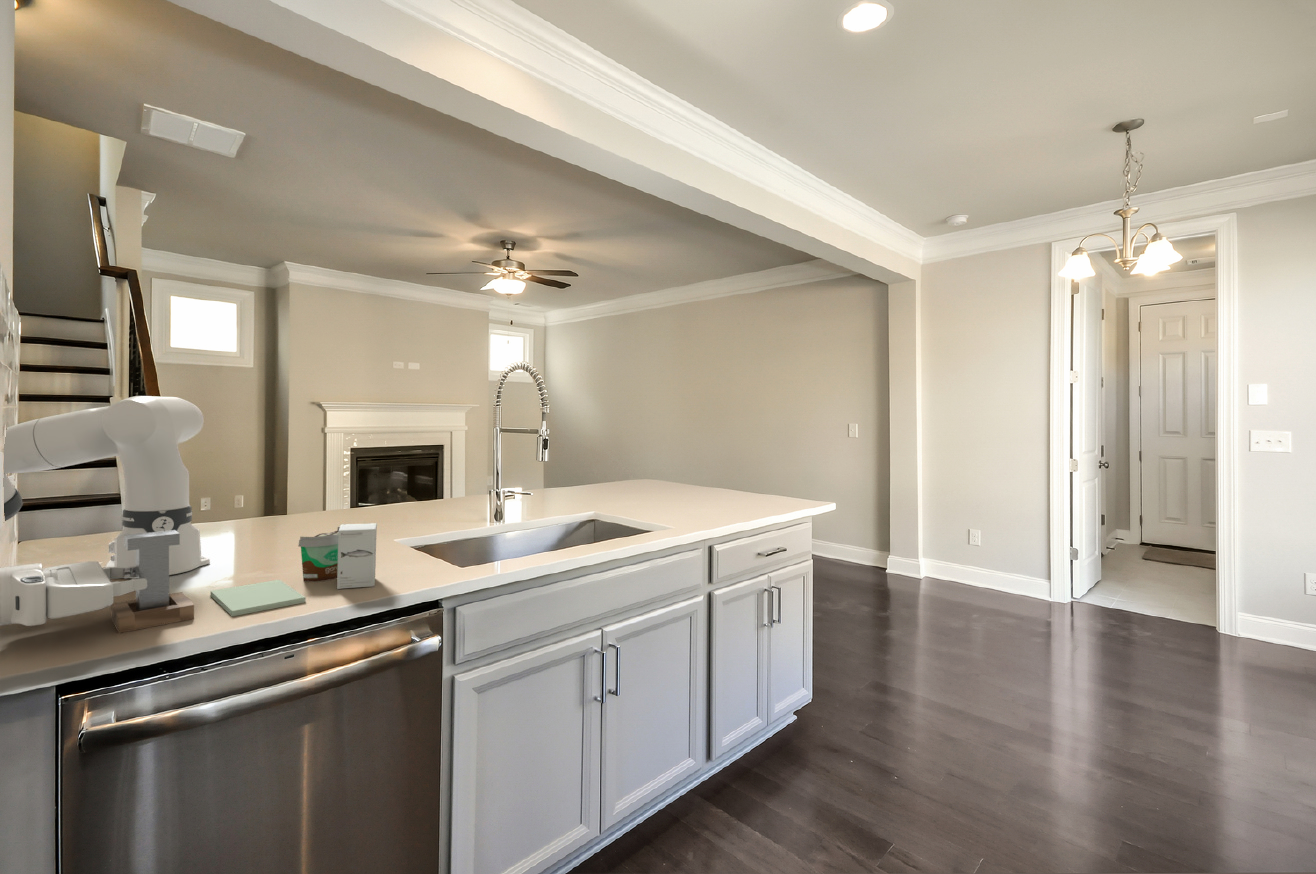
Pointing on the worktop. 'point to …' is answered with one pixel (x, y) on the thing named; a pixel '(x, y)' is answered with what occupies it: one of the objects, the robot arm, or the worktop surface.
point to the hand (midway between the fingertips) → (141, 576)
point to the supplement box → (356, 555)
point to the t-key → (152, 566)
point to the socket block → (151, 613)
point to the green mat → (257, 597)
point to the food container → (320, 556)
